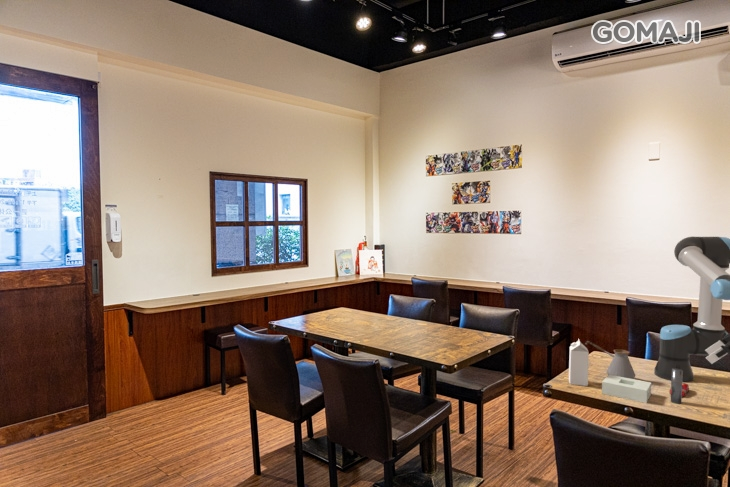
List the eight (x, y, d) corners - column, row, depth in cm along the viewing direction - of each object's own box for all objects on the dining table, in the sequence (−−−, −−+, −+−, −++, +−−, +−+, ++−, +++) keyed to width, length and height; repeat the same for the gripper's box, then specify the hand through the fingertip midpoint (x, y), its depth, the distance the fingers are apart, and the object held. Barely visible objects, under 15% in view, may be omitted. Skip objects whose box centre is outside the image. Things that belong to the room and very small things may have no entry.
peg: (674, 399, 190) (675, 367, 189) (683, 403, 187) (684, 370, 186) (668, 401, 188) (669, 369, 188) (677, 404, 185) (679, 371, 185)
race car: (683, 399, 191) (683, 389, 191) (667, 395, 195) (668, 386, 195) (691, 391, 201) (691, 382, 200) (676, 387, 205) (676, 378, 204)
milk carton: (585, 381, 211) (587, 339, 210) (587, 386, 205) (589, 343, 204) (568, 379, 214) (569, 337, 213) (569, 384, 207) (571, 341, 206)
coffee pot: (638, 379, 214) (639, 346, 214) (630, 385, 206) (631, 351, 205) (589, 368, 229) (590, 338, 229) (580, 374, 221) (581, 342, 220)
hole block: (601, 393, 196) (602, 381, 196) (608, 385, 206) (608, 374, 205) (646, 403, 186) (646, 390, 186) (651, 394, 196) (651, 382, 195)
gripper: (774, 337, 160) (717, 373, 169) (765, 325, 180) (715, 357, 190) (755, 319, 163) (700, 355, 172) (748, 309, 183) (699, 342, 192)
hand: (708, 356), depth 181 cm, fingers open, 13 cm apart
